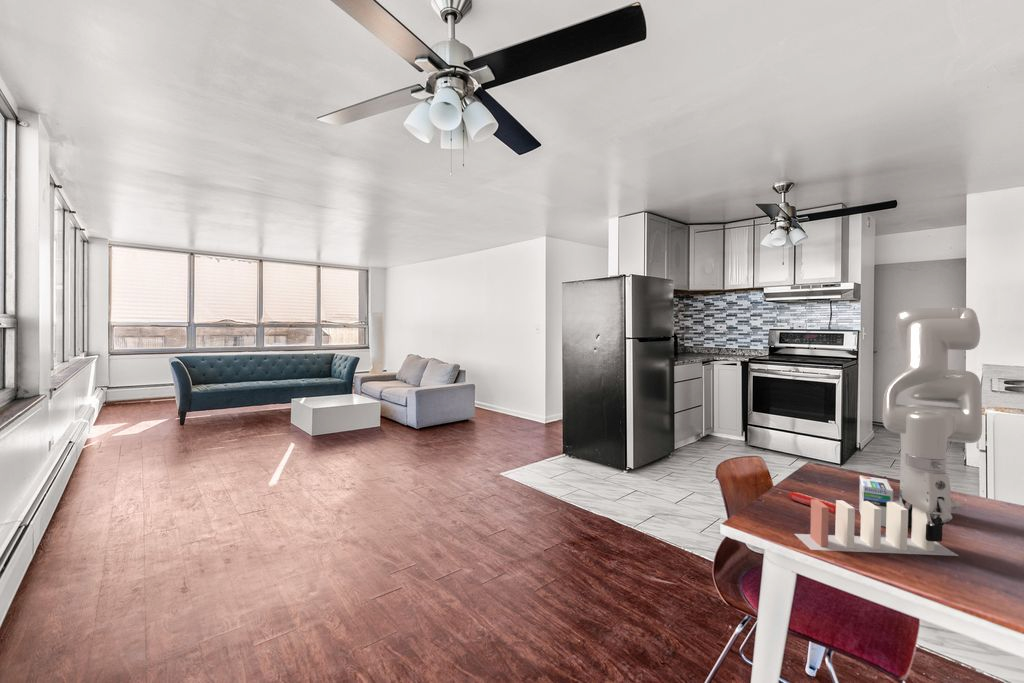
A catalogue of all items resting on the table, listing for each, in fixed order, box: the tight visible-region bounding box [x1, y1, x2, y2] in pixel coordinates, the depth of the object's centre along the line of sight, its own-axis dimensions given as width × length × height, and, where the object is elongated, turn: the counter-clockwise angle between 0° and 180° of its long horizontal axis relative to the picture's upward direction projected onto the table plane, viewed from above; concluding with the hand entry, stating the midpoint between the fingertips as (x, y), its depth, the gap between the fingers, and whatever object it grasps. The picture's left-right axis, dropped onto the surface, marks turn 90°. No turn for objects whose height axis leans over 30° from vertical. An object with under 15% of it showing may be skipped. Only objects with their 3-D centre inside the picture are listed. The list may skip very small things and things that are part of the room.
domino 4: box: [885, 501, 909, 550], centre depth 115 cm, size 2×5×10 cm, turn 174°
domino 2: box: [834, 499, 856, 548], centre depth 116 cm, size 2×5×10 cm, turn 174°
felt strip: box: [794, 533, 960, 557], centre depth 116 cm, size 33×8×1 cm, turn 83°
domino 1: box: [809, 499, 830, 547], centre depth 117 cm, size 2×5×10 cm, turn 174°
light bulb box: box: [858, 475, 894, 528], centre depth 130 cm, size 11×7×11 cm, turn 148°
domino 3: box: [859, 501, 882, 549], centre depth 115 cm, size 2×5×10 cm, turn 174°
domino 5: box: [910, 505, 935, 551], centre depth 114 cm, size 2×5×10 cm, turn 173°
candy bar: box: [786, 491, 836, 515], centre depth 140 cm, size 16×4×3 cm, turn 30°
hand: (922, 533), depth 114 cm, fingers open, 6 cm apart
